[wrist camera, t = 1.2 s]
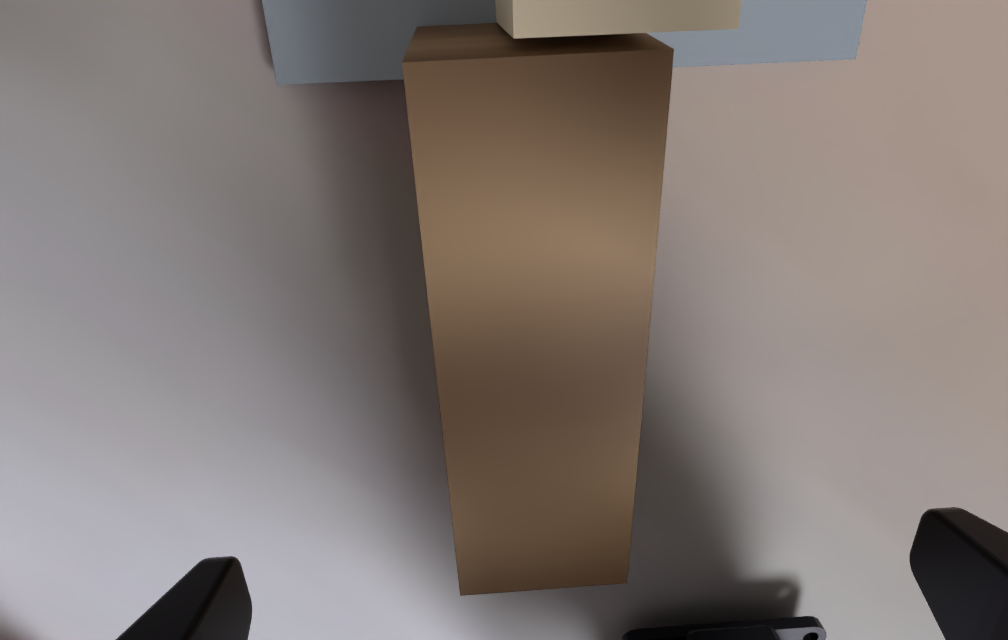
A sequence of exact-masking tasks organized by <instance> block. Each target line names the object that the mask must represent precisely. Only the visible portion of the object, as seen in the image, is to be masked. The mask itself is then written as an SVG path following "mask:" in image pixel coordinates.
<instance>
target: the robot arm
mask: <svg viewBox="0 0 1008 640" xmlns="http://www.w3.org/2000/svg"><path fill="white" fill-rule="evenodd" d="M910 566H911V570H912V572H913V575H914V577H915V579H916V581H917V583H918V585H919V587H920V589H921V591H922V593H923V595H924V597H925V599H926V601H927V603H928V605H929V607H930V609H931V611H932V613H933V615H934V617H935V619H936V621H937V623H938V625H939V627H940V629H941V631H942V633H943V635H944V637H945V639H946V640H1008V532H1006V531H1004V530H1002V529H1000V528H998V527H996V526H994V525H992V524H990V523H989V522H987V521H985V520H983V519H981V518H979V517H977V516H975V515H973V514H971V513H970V512H968V511H966V510H964V509H961V508H955V507H951V508H936V509H929V510H927V511H926V512H925V513H924V514H923V515H922V517H921V519H920V523H919V526H918V529H917V532H916V535H915V538H914V542H913V545H912V548H911V551H910ZM251 619H252V602H251V598H250V594H249V591H248V587H247V584H246V580H245V577H244V573H243V570H242V567H241V564H240V562H239V560H238V559H237V558H236V557H232V556H228V557H214V558H206V559H204V560H202V561H200V562H199V563H198V564H197V565H196V566H194V567H193V568H192V569H191V570H190V571H189V572H188V573H187V574H186V575H185V576H184V577H183V578H182V579H180V580H179V581H178V582H177V583H176V584H175V585H174V586H173V587H172V588H171V589H170V590H169V591H168V592H166V593H165V594H164V595H163V596H162V597H161V598H160V599H159V600H158V601H157V602H156V603H155V604H154V605H152V606H151V607H150V608H149V609H148V610H147V611H146V612H145V613H144V614H143V615H142V616H141V617H140V618H139V619H137V620H136V621H135V622H134V623H133V624H132V625H131V626H130V627H129V628H128V629H127V630H126V631H125V632H123V633H122V634H121V635H120V636H119V637H118V638H117V639H116V640H248V635H249V630H250V624H251ZM825 639H826V632H825V630H824V628H823V626H822V624H821V623H820V621H819V620H818V619H817V618H815V617H812V616H804V617H790V618H777V619H763V620H750V621H737V622H723V623H710V624H696V625H683V626H669V627H656V628H642V629H634V630H631V631H629V632H627V633H626V634H625V635H624V636H623V637H622V640H825Z"/></svg>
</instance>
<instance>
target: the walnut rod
mask: <svg viewBox="0 0 1008 640" xmlns="http://www.w3.org/2000/svg"><path fill="white" fill-rule="evenodd" d="M673 56H674V49H673V48H671V47H670V46H668V45H666V44H664V43H663V42H661V41H659V40H657V39H656V38H654V37H652V36H650V35H649V34H647V33H631V34H607V35H584V36H561V37H538V38H515V39H514V38H513V37H511V36H510V35H509V34H508V33H507V32H506V31H505V30H504V29H503V28H502V27H501V26H500V25H499V24H498V23H484V24H463V25H442V26H421V27H416V30H415V32H414V34H413V37H412V39H411V42H410V44H409V47H408V49H407V51H406V54H405V56H404V59H403V61H402V68H403V77H404V86H405V95H406V104H407V113H408V123H409V132H410V141H411V150H412V159H413V168H414V177H415V186H416V196H417V205H418V214H419V223H420V232H421V241H422V250H423V260H424V269H425V278H426V287H427V296H428V305H429V314H430V323H431V333H432V342H433V351H434V360H435V369H436V378H437V387H438V396H439V406H440V415H441V424H442V433H443V442H444V451H445V460H446V470H447V479H448V488H449V497H450V506H451V515H452V524H453V533H454V543H455V552H456V561H457V570H458V579H459V588H460V596H462V595H475V594H489V593H502V592H515V591H528V590H542V589H555V588H568V587H582V586H595V585H608V584H621V583H627V578H628V567H629V556H630V544H631V533H632V521H633V510H634V499H635V487H636V476H637V465H638V453H639V442H640V431H641V419H642V408H643V396H644V385H645V374H646V362H647V351H648V340H649V328H650V317H651V306H652V294H653V283H654V271H655V260H656V249H657V237H658V226H659V215H660V203H661V192H662V181H663V169H664V158H665V147H666V135H667V124H668V112H669V101H670V90H671V78H672V67H673Z"/></svg>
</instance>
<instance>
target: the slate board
mask: <svg viewBox="0 0 1008 640" xmlns="http://www.w3.org/2000/svg"><path fill="white" fill-rule="evenodd" d="M866 2H867V0H262V4H263V9H264V15H265V21H266V26H267V32H268V37H269V43H270V48H271V54H272V59H273V65H274V71H275V76H276V82H277V85H289V84H312V83H334V82H356V81H378V80H401V79H404V77H403V68H402V61H403V59H404V56H405V54H406V51H407V49H408V47H409V44H410V42H411V39H412V37H413V34H414V32H415V30H416V27H421V26H442V25H463V24H484V23H498V24H499V25H500V26H501V27H502V28H503V29H504V30H505V31H506V32H507V33H508V34H509V35H510V36H511V37H513V38H514V39H515V38H538V37H561V36H584V35H607V34H631V33H647V34H649V35H650V36H652V37H654V38H656V39H657V40H659V41H661V42H663V43H664V44H666V45H668V46H670V47H671V48H673V49H674V56H673V67H689V66H712V65H734V64H756V63H778V62H801V61H823V60H845V59H856V55H857V50H858V44H859V39H860V34H861V28H862V23H863V18H864V12H865V7H866Z"/></svg>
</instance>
